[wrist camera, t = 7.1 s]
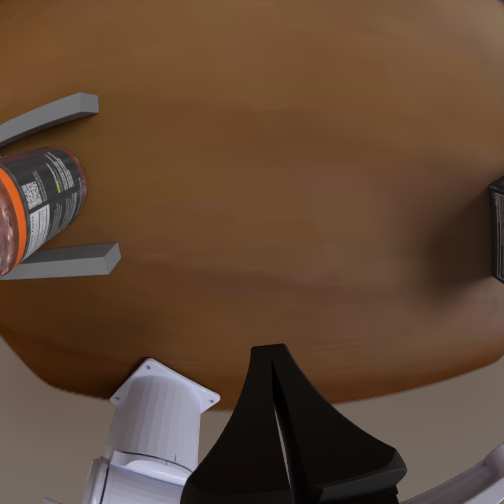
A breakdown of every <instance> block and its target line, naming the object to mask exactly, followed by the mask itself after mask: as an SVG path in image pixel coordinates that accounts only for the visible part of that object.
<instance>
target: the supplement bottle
mask: <svg viewBox="0 0 504 504" xmlns="http://www.w3.org/2000/svg"><path fill="white" fill-rule="evenodd" d="M86 194H87V184H86V177H85V173H84V170H83V168H82V166H81V164H80V162H79V161H78V159H77V158H76V157H75V155H73V154H72V153H71V152H70V151H68V150H67V149H64V148H62V147H57V146H50V147H43V148H38V149H34V150H29V151H25V152H21V153H16V154H13V155H9V156H5V157H1V158H0V278H1V277H3V276H5V275H6V274H8V273H9V272H10V271H11V270H13V269H14V268H15V267H16V266H17V265H19V264H20V263H21V262H22V261H23V260H24V259H26V258H27V257H28V256H29V255H31V254H32V253H33V252H34V251H35V250H37V249H38V248H39V247H40V246H42V245H43V244H44V243H45V242H47V241H48V240H49V239H51V238H52V237H53V236H55V235H56V234H57V233H59V232H60V231H61V230H63V229H64V228H65V227H67V226H68V225H69V224H70V223H72V222H73V221H74V220H75V219H76V218H77V217H78V216H79V214H80V212H81V211H82V209H83V206H84V204H85V200H86Z"/></svg>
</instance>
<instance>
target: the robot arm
mask: <svg viewBox="0 0 504 504" xmlns="http://www.w3.org/2000/svg"><path fill="white" fill-rule="evenodd" d="M219 400H220V396H219V395H218V394H216V393H214V392H212V391H210V390H208V389H206V388H204V387H203V386H201V385H199V384H197V383H195V382H193V381H191V380H189V379H187V378H186V377H184V376H182V375H180V374H178V373H176V372H175V371H173V370H171V369H169V368H168V367H166V366H164V365H163V364H161V363H159V362H157V361H156V360H154V359H152V358H147V359H146V360H145V361H144V362H143V363H142V364H141V365H140V366H139V367H138V369H137V370H136V371H135V372H134V373H133V374H132V375H131V376H130V377H129V378H128V379H127V380H126V381H125V382H124V384H123V385H122V386H121V387H120V388H119V389H118V390H117V391H116V392H115V393H114V394H113V395H112V396H111V398H110V402H111V403H112V404H115V405H116V406H117V408H116V412H115V415H114V418H113V421H112V425H111V428H110V431H109V435H108V439H107V442H106V447H105V454H106V458H104V457H102V456H100V457H99V458H96V459H94V460H93V461H92V463H91V466H90V469H89V472H88V476H87V479H86V483H85V487H84V490H83V495H82V499H81V504H498V503H499V502H501V501H502V500H503V499H504V442H503V443H502V444H500V445H499V446H498V447H496V448H495V449H494V450H492V451H491V452H490V453H489V454H488V455H487V456H486V457H485V459H484V460H482V461H481V462H479V463H477V464H476V465H474V466H473V467H471V468H469V469H468V470H466V471H464V472H463V473H461V474H459V475H457V476H455V477H454V478H452V479H450V480H448V481H446V482H444V483H443V484H441V485H439V486H436V487H435V488H433V489H430V490H428V491H426V492H424V493H422V494H419V495H417V496H415V497H413V498H410V499H408V500H405V501H403V502H400V503H399V502H398V499H397V497H396V495H397V494H398V490H397V487H396V484H397V483H398V482H399V481H400V480H401V479H402V478H403V477H404V476H405V474H406V473H407V468H406V465H405V463H404V461H403V459H402V458H401V456H400V455H399V453H398V451H397V450H396V449H395V448H393V447H391V446H389V445H387V444H385V443H383V442H382V441H380V440H378V439H376V438H374V437H373V436H371V435H370V434H368V433H366V432H365V431H363V430H362V429H360V428H359V427H358V426H356V425H355V424H353V423H352V422H351V421H350V420H348V419H347V418H346V417H344V416H343V415H342V414H341V413H340V412H338V411H337V410H336V409H335V408H334V407H333V406H332V405H331V404H330V403H329V402H328V401H327V400H326V399H325V398H324V397H323V396H322V395H321V394H320V393H319V392H318V391H317V390H316V388H315V387H314V386H313V385H312V384H311V382H310V381H309V380H308V379H307V377H306V376H305V375H304V373H303V372H302V371H301V369H300V368H299V367H298V365H297V364H296V362H295V360H294V359H293V357H292V356H291V354H290V352H289V350H288V348H287V346H286V345H285V344H284V343H282V344H273V345H264V346H254V347H252V348H251V358H250V364H249V369H248V373H247V377H246V380H245V383H244V387H243V389H242V392H241V395H240V397H239V400H238V403H237V405H236V407H235V409H234V412H233V414H232V416H231V418H230V420H229V422H228V423H227V425H226V427H225V429H224V431H223V432H222V434H221V435H220V437H219V439H218V440H217V442H216V443H215V445H214V446H213V448H212V449H211V450H210V452H209V453H208V454H207V456H206V457H205V458H204V460H203V461H202V462H201V463H200V464H199V466H198V467H197V460H198V441H199V426H200V413H202V412H203V411H205V410H206V409H208V408H209V407H211V406H212V405H214V404H215V403H216V402H218V401H219ZM273 402H274V404H273ZM274 406H275V410H276V414H277V418H278V421H279V426H280V430H281V433H282V437H283V441H284V446H285V451H286V458H287V465H288V472H289V479H290V484H289V480H288V476H287V471H286V466H285V462H284V457H283V452H282V448H281V442H280V437H279V432H278V427H277V421H276V416H275V410H274ZM290 487H291V489H290ZM43 504H62V503H59V502H57V501H54V500H51V499H49V498H44V501H43Z"/></svg>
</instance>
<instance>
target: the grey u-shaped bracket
mask: <svg viewBox="0 0 504 504" xmlns="http://www.w3.org/2000/svg"><path fill="white" fill-rule="evenodd" d="M96 113H99V106H98V96H97V95H92V94H86V93H81V92H80V93H77V94H74V95H71V96H68V97H65V98H62V99H59V100H57V101H54V102H51V103H49V104H46V105H44V106H41V107H39V108H36V109H34V110H32V111H29V112H27V113H25V114H23V115H20V116H18V117H16V118H14V119H12V120H10V121H8V122H6V123H4V124H2V125H0V147H2V146H5V145H7V144H9V143H12V142H14V141H16V140H19V139H21V138H24V137H26V136H29V135H31V134H34V133H36V132H39V131H42V130H45V129H47V128H50V127H53V126H56V125H59V124H62V123H65V122H68V121H72V120H75V119H78V118H82V117H85V116H89V115H92V114H96ZM0 158H1V156H0ZM120 259H121V255H120V251H119V246H118V242H114V243H104V244H94V245H85V246H75V247H66V248H57V249H48V250H40V251H34V252H33V253H32V254H31V255H29V256H28V257H27V258H26V259H24V260H23V261H22V262H21V263H20V264H19V265H17V266H16V267H15V268H14V269H13V270H11V271H10V272H9V273H8V274H6V275H5V276H3V277H1V278H0V279H1V280H9V279H30V278H49V277H68V276H85V275H102V274H109V273H110V272H111V270H112V269H113V268H114V267H115V265H116V264H117V263H118V261H119V260H120Z"/></svg>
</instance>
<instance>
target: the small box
mask: <svg viewBox="0 0 504 504" xmlns="http://www.w3.org/2000/svg"><path fill="white" fill-rule="evenodd" d="M489 190H490V200H491V212H492V230H493V271H492V276H493V277H494V278H496V279H497V280H499V281H500V282H502V283H503V284H504V177H502V178H500V179H499V180H497V181H495V182H494V183H492V184H490V186H489Z"/></svg>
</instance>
